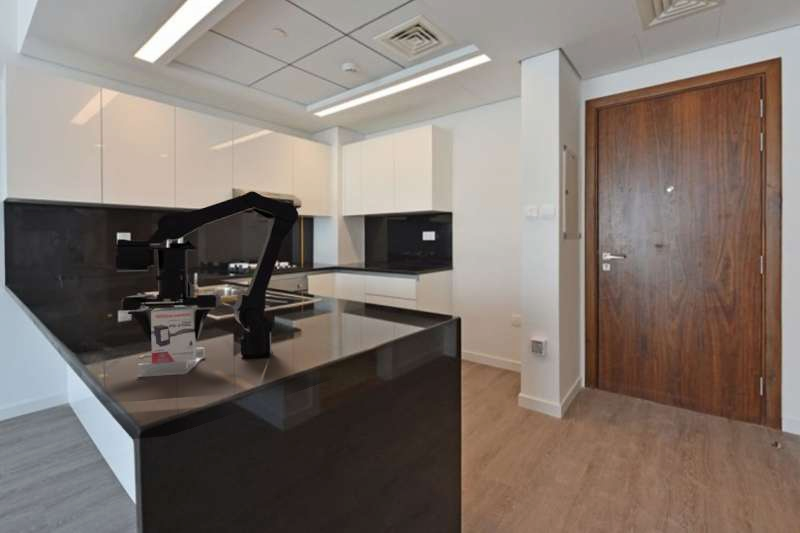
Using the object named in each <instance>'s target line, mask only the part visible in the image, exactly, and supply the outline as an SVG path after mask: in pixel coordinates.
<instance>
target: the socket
mask: <svg viewBox="0 0 800 533" xmlns="http://www.w3.org/2000/svg"><path fill="white" fill-rule="evenodd" d="M205 355H206V354H205V346H204V347H201V346H200V347H196V360H193V361H177V362H159V363H152V362H145V363H143V362H142V363H138V364H137V377H138V378H143V377H147V378H148V377H160V376H175V375H187V374H188V373H189V372H190V371H191V370H192V369H194V367H196V366H197V365H198V364H199V363H200V362H201V361H202V360H204V358H205Z"/></svg>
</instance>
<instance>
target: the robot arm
mask: <svg viewBox="0 0 800 533" xmlns="http://www.w3.org/2000/svg"><path fill="white" fill-rule="evenodd" d="M245 211H252V212H254V213H256V214H257V215H260V216H261V217H263V218H265V219H266V220H267V219H268V220H267V228H266V229H267V231H266V233H267V234H266V238H265V241H264V244H263V247H262V249H261V253H260V255H259V257H258V261H257V263H256V266H255V269H254V272H253V275H252V278H251V280H250V283H249V286H248V288H247V289H246V291H245V292H244V293H240V292H238V293H237V295H236V297H237V298H236V300H235V301H236V302H235V303H234V305H232V307H231V308H232V309H233V310H234V311H233V312H234V313H233V316H234V318H235V320H236V322H238V323H239V324H240V325H242V327H243V329H244V331H243V332H242V337H241V338H240V355H241V359H242V360H247V359H249V360H250V359H264V358H270V357H272V353H273V349H272V330H273V327H274V323H273V322H271V321H270V320H269V318H267V317H266V316H265V310H266V304H267V303H266V302H267V301H266V298H267V290H268V287H269V284H270V282H271V279H272V276H273V272H274V270H275V266H276V264H277V261H278V258H279V256H280V253H281V250H282V247H283V244H284V241H285V239H286V238H287V236H288V235H289V234H290V233H291V231H292V229H293V228H294V226H295V224H296V223H297V222H298V218H299V211H298V210H297V207H296V206H295V205H294V204H293V203H290V202H281V201H278V200H276V199H275V198H274V199H273V198H271V197H267V196H264V195H262V194H260V193H258V192H256V191H248V192H247V193H245V194H241V195H239V196H236V197H233V198H230V199H227V200H223V201H221V202H217V203H215V204H211V205H209V206H205V207H203V208H199V209H198V208H197V209H193V210H192V209H191V210H181V211H177V212H170V213H165V214H164V215H161V217H159V219H158V221H157V224H156V231H155V232H154V233H152V235H149V238H148V239H147V240H134V239H133V240H132V239H130V240H129V239H123V238H122V239H121V238H119V239H118V238H117V240H116V242H117V243H116V253H115V268H116V272H148V271H149V267H155V251H157V275H156V276H155V279H156V281H157V285H158V286H157V287H158V288H157V290H158V291H157V292H158V294H156V297H152V296H151V295H150V294H142V295H138V294H137V295H129V296H124V297H123V298H122V300H121V301H120V311H127V314H128V315H132V316H133V317H134V319H135V320H136V322H137V323H138V325H139V326H140V327H141V330H142V331H143V333H144V335H145V336H146V338H147V340H148V342H151V311H152V310H154V308H149V307H170V306H171V307H172V306H174V307H175V306H197V307H198V308H195V339H196V340H198V339H199V338H200V336H201V331H202V328H203V326H204V322H205V321H206V319H207V316H208V314H209V312H211V311H214V310H215V309H216V308H217V307H219V306H221V305H222V298H221V295H220V294H219V293H217V292H215V293H201V294H200V293H199V294H197V295H196V296H195V288H196V287H195V285H194V284H193V283H192V282H190V277H189V274H188V251H196V250H197V247H196V246H195V245H194V244H193V243H191V241H190V239H187V240H185V242H174V241H177V240H180V239H182V238H184V237H185V236H188V235H190V234H191V233H193V232H194V231H196V230H198V229H200V228H202V227H204V226H205V225H208V224H211V223H214V222H217V221H220V220H223V219H226V218H229V217H231V216H234V215H237V214H239V213H243V212H245ZM166 241H169V244H168V247H165V246H164V247H157V246H158V245H159V246H160V245H161V244H163V243H165V242H166ZM151 246H156V247H151ZM165 300H170V301H165Z"/></svg>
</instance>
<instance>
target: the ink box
mask: <svg viewBox="0 0 800 533" xmlns="http://www.w3.org/2000/svg"><path fill="white" fill-rule="evenodd" d="M195 310H196V308H195V306H194V305H186V306H176V307H175V306H174V307H172V306H171V307H162V308H153V310H152V311H151V341H150V342H151V354H152V356H151V363H159V362H177V361H193V360H196V348H197V339H195Z"/></svg>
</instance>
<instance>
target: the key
mask: <svg viewBox="0 0 800 533" xmlns="http://www.w3.org/2000/svg"><path fill="white" fill-rule="evenodd" d="M145 357H146V358H148V357H152V353H150V354H143V355H142V354H141V355H140V354H139V359H140V360H141V359H144V358H145Z"/></svg>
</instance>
